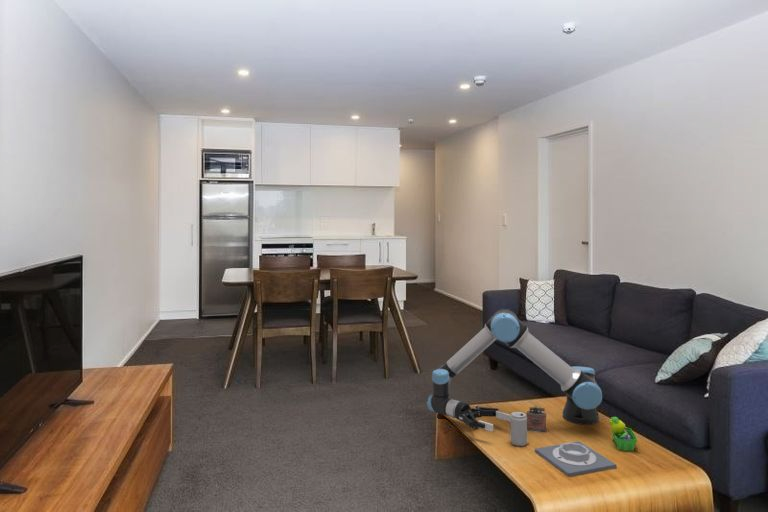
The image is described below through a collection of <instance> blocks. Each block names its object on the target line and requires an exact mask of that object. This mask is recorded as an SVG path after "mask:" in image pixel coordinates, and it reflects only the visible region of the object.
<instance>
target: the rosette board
mask: <svg viewBox="0 0 768 512" xmlns="http://www.w3.org/2000/svg"><path fill="white" fill-rule="evenodd" d="M534 452H535V453H536V454H537V455H539V456H540V457H541V458H543V459H544V460H545V461H546V462H548V463H550V464H551V465H552V466H553V467H555V468H556V469H557V470H559V471H560V472H561V473H563V474H564V475H565V476H567V477H574V476H579V475H585V474H590V473H595V472H601V471H606V470H612V469H617V463H615V462H614V461H611V460H610V459H608V458H607V457H605V456H604V455H602V454H600V453H599V452H597V451H596V450H594V449H592V448H591V447H589V446H588V445H586V444H584V443H583V442H581V441H573V442H570V441H569V442H565V443H563V442H562V443H560V444H553V445H548V446H542V447H535V448H534Z"/></svg>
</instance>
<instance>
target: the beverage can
mask: <svg viewBox="0 0 768 512" xmlns="http://www.w3.org/2000/svg"><path fill="white" fill-rule="evenodd" d="M510 415H511V416H510V443H512V445H513V446H514V447H515V446H516V447H524V446H526V445H527V444H528V430H527V413H524V412H522V411H513V412H511V413H510Z"/></svg>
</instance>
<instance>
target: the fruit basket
mask: <svg viewBox="0 0 768 512" xmlns="http://www.w3.org/2000/svg"><path fill="white" fill-rule="evenodd" d="M609 424H610V425H609V428H610V430H611V433H612V437H613V441H614V443H615V445H616V447H617V449H618V450H619V451H627V452H630V451H631V452H634V451H635V450H634V449H635V447H636V443H637V441H638V438H637V436H636V434H635V433H634V431H633V429H632V428H630V427H627V426H626V424H625V422H623V421H622V420H621V419H619V418H618V417H617V416H611V417H610V419H609Z"/></svg>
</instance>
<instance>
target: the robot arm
mask: <svg viewBox="0 0 768 512" xmlns="http://www.w3.org/2000/svg"><path fill="white" fill-rule="evenodd" d="M495 341H500V342H502V343H504V344H505V345H506V346H507V347H509V348H510V349H511V348H514V349H517V350H518V351H519V352H520V353H522V354H523V355H524V356H526V358H527V359H529V360H530V361H532V362H533V364H534V365H536V366H537V367H539V368H540V369H541V370H542V371H544V372H545V373H546V374H547V375H548V376H549V377H551V378H552V379H553V380H554V381H556V382H557V383H558V384H559V385H560V388H561V391H562V392H563V393H564V394H565V395H566V401H565V404H564V408H563V410H562V418H563V419H565V420H566V421H567V422H570V423H573V424H576V425H595V424H597V423H599V422H600V414H599V412H598V408H597V407H598V406H599V405H600V404H601V403H602V401H603V391H602V389H601V387H600V386H599V384H598V383H597V381H596V371H595V369H594V368H592V367H587V366H577V365H575V366H570V365H569V364H568V363H567V362H566V361H565V360H563V358H561V357H560V356H558V355H557V354H556V353H555V352H553V351H552V350H551V349H549V348H548V347H547V346H546V345H545V344H544V343H542V342H541V341H540V340H539V339H537V338H536V337H535V336H534V335H533V334H532V333H530V331H529V327H528V326H527V325H526V324H525V323H523V322H522V321H521V320H520V319H519V317H518V316H517V314H516V313H515V312H514V311H512V310H511V309H508V308H501V309H499V310H497V311H495V313H493V315H492V316H491V317H490V318H489V319H488V320H487V321H486V322H485V323H484V327H483V328H482V329H481V330H480V331H479V332H478V333H477V334H475V336H473V337H472V338H471V339H470V340H469V341H468V342H467V343H466V344H464V345H463V346H462V347H461V348H460V349H459V350H458V351H456V353H454V354H453V356H452V357H450V358H449V359H448V360H447V361H446V362H445V363H444V364H442V365H441V366H440V367H438V368H437V369H434V370H433V371H432V375H431V380H432V383H431V384H432V394H431V395H429V396H428V398H427V401H426V404H427V409H428V410H429V411H431V412H434V413H436V414H440V415H444V416H446V417H450V418H452V419H456V420H458V421H460V422H462V423H463V424H465V425H466V426H467V427H469V428H470V429H474V430H478V429H479V428H480V429H483V430H486V431H489V432H492V433H493V432H494V424H493V423H490V422H486V421H483V420H481V419H482V417H491V418H492V417H494V418H496V419H500V420H503V421H506V422H510V416H511V413H510V414H509V413H506V412H503V411H499V408H496V407H495V408H494V407H483V406H478V405H477V406H475V407H471V406H470V405H469V404H468V403H467V402H463V401H460V400H456V399H452V398H450V384H451V381H452V380H454V378H455V377H456V376H457V375H458V374H459V373H460V372H462V371H463V370H464V369H465V368H466V367H468V366H469V364H471V362H473V361H474V360H475V359H476V358H477V357H478V356H479V355H481V354H482V353H483V352H484V351H485V350H486V349H488V347H490V346H491V345H492V344H493V343H494V342H495ZM478 418H481V419H479V420H477V419H478Z"/></svg>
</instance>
